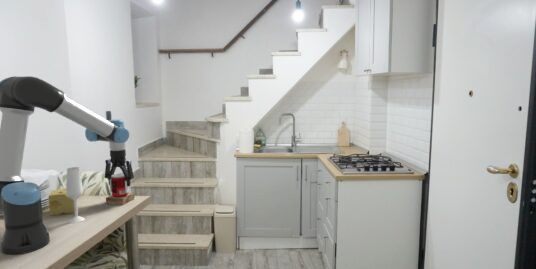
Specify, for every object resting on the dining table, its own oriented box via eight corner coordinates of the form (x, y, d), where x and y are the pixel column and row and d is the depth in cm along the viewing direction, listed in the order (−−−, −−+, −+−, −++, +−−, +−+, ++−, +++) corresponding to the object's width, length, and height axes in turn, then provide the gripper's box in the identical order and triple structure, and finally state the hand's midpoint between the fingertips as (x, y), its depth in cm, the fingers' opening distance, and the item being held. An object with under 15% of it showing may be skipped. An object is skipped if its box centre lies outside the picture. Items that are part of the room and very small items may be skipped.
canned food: (130, 193, 185) (129, 173, 184) (123, 197, 178) (122, 177, 176) (117, 192, 186) (116, 172, 185) (109, 197, 178) (108, 176, 177)
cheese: (74, 213, 165) (73, 193, 163) (48, 216, 161) (46, 195, 159) (77, 206, 174) (76, 187, 173) (53, 209, 170) (51, 189, 169)
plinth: (123, 204, 176) (123, 198, 176) (106, 203, 178) (105, 197, 178) (134, 198, 186) (134, 193, 186) (118, 197, 188) (117, 191, 188)
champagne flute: (65, 221, 154) (60, 169, 151) (78, 216, 160) (75, 166, 157) (74, 223, 151) (70, 170, 148) (88, 218, 157) (85, 167, 154)
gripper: (140, 148, 180) (142, 190, 183) (104, 147, 184) (106, 188, 187) (131, 151, 173) (133, 194, 176) (94, 149, 177) (97, 192, 180)
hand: (120, 191), depth 182 cm, fingers open, 8 cm apart
